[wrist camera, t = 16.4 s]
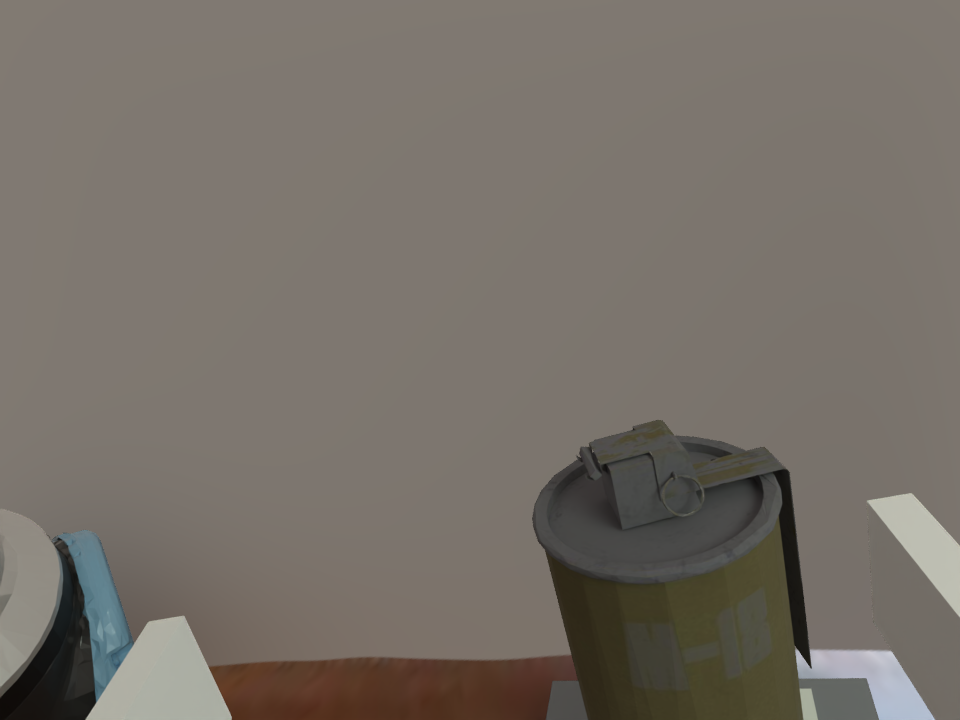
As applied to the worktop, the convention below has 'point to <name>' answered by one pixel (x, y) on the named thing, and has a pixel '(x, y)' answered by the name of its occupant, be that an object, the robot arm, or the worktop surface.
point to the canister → (677, 578)
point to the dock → (825, 702)
